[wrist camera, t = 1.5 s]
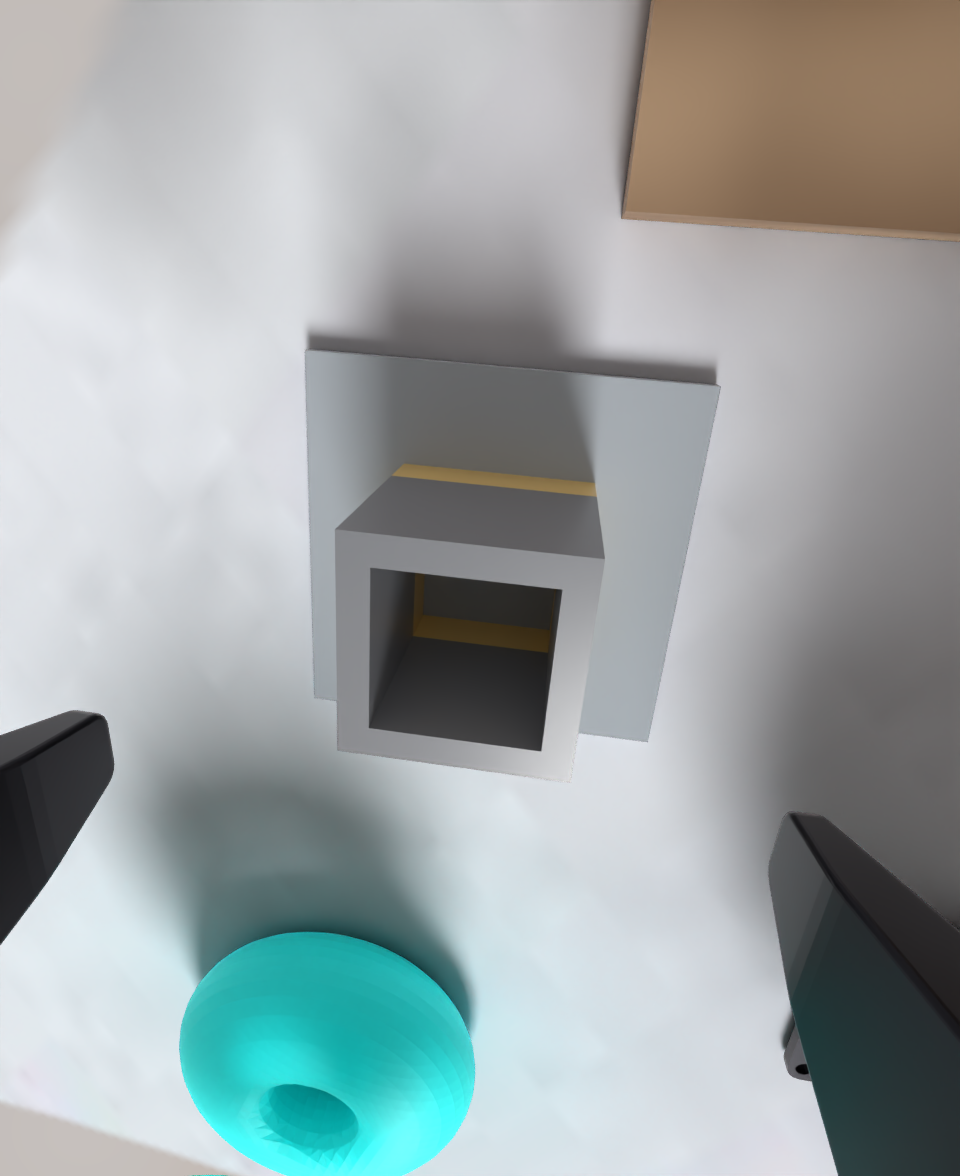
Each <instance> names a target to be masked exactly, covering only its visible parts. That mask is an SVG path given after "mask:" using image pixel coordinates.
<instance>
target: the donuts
mask: <svg viewBox="0 0 960 1176" xmlns="http://www.w3.org/2000/svg"><path fill="white" fill-rule="evenodd" d="M179 1052H180V1060H181V1067H182V1073H183V1077H184V1080H185V1083H186V1086H187V1088H188V1090H189V1093H190V1095H191V1097H192V1099H193V1101H194V1103H195V1105H196V1107H197V1108H198V1110H199V1112H200V1113H201V1114H202V1116H203V1117H204V1118H205V1120H206V1121H207V1122H208V1123H209V1124H210V1126H211V1127H212V1128H213V1129H214V1130H215V1131H216V1132H217V1133H218V1134H219V1135H220V1136H221V1137H222V1138H223V1139H224V1140H225V1141H227V1142H228V1143H229V1144H230V1145H231V1146H233V1147H234V1148H235V1149H236V1150H238V1151H239V1152H241V1153H242V1154H244V1155H245V1156H247V1157H248V1158H250V1159H252V1160H253V1161H255V1162H257V1163H259V1164H261V1165H263V1166H265V1167H267V1168H269V1169H271V1170H273V1171H276V1172H278V1173H281V1174H284V1175H287V1176H402V1175H405V1174H407V1173H409V1172H411V1171H413V1170H415V1169H416V1168H418V1167H420V1166H421V1165H423V1164H425V1163H427V1162H428V1161H429V1160H431V1159H432V1158H434V1157H435V1156H436V1155H437V1154H438V1153H439V1152H440V1151H441V1150H442V1149H443V1148H444V1147H445V1146H446V1145H447V1144H448V1143H449V1142H450V1141H451V1139H452V1138H453V1137H454V1135H455V1134H456V1132H457V1131H458V1129H459V1127H460V1126H461V1124H462V1122H463V1120H464V1119H465V1116H466V1114H467V1111H468V1108H469V1105H470V1102H471V1099H472V1095H473V1090H474V1081H475V1061H474V1053H473V1046H472V1043H471V1039H470V1036H469V1033H468V1030H467V1028H466V1026H465V1023H464V1021H463V1019H462V1017H461V1015H460V1013H459V1011H458V1010H457V1008H456V1006H455V1005H454V1004H453V1002H452V1001H451V999H450V998H449V997H448V996H447V994H446V993H445V992H444V991H443V990H442V989H441V988H440V987H439V985H438V984H437V983H436V982H435V981H434V980H432V979H431V978H430V977H429V976H428V975H427V974H425V973H424V972H423V971H422V970H420V969H419V968H418V967H416V966H415V965H414V964H412V963H411V962H409V961H408V960H406V959H405V958H403V957H401V956H399V955H397V954H396V953H394V952H392V951H390V950H388V949H385V948H383V947H381V946H378V945H376V944H373V943H370V942H368V941H365V940H361V939H357V938H353V937H349V936H345V935H340V934H334V933H325V932H293V933H284V934H278V935H274V936H270V937H266V938H262V939H259V940H256V941H254V942H251V943H248V944H246V945H244V946H243V947H241V948H239V949H237V950H235V951H234V952H232V953H231V954H229V955H228V956H226V957H225V958H223V959H222V960H221V961H220V962H218V963H217V964H216V965H215V966H214V967H213V968H212V969H211V970H210V971H209V972H208V973H207V975H206V976H205V977H204V978H203V979H202V981H201V982H200V983H199V985H198V986H197V988H196V990H195V991H194V993H193V995H192V997H191V999H190V1001H189V1003H188V1005H187V1008H186V1011H185V1014H184V1017H183V1021H182V1025H181V1032H180V1043H179ZM193 1176H194V1175H193ZM195 1176H226V1175H195Z"/></svg>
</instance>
